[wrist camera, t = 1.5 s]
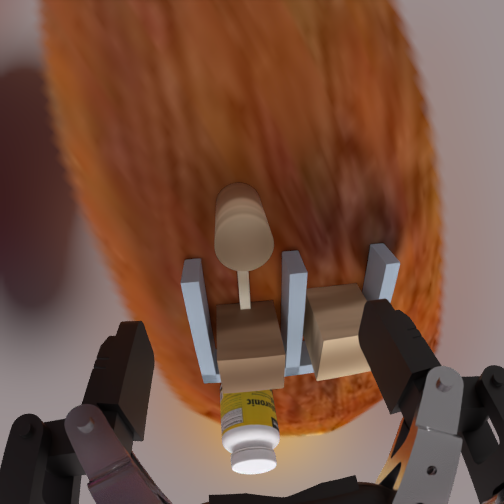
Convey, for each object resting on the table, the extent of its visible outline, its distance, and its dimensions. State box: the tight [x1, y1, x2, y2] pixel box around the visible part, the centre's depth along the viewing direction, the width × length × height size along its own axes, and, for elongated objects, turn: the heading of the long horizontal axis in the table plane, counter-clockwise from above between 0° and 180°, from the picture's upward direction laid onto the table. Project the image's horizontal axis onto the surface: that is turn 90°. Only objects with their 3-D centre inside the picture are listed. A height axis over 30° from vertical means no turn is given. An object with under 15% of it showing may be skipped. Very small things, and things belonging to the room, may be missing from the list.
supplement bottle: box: [220, 384, 280, 474], centre depth 27 cm, size 5×5×10 cm
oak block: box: [303, 283, 371, 381], centre depth 24 cm, size 5×5×6 cm
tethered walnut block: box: [215, 183, 286, 394], centre depth 21 cm, size 14×5×6 cm, turn 2°
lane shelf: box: [181, 243, 400, 383], centre depth 25 cm, size 11×16×3 cm
